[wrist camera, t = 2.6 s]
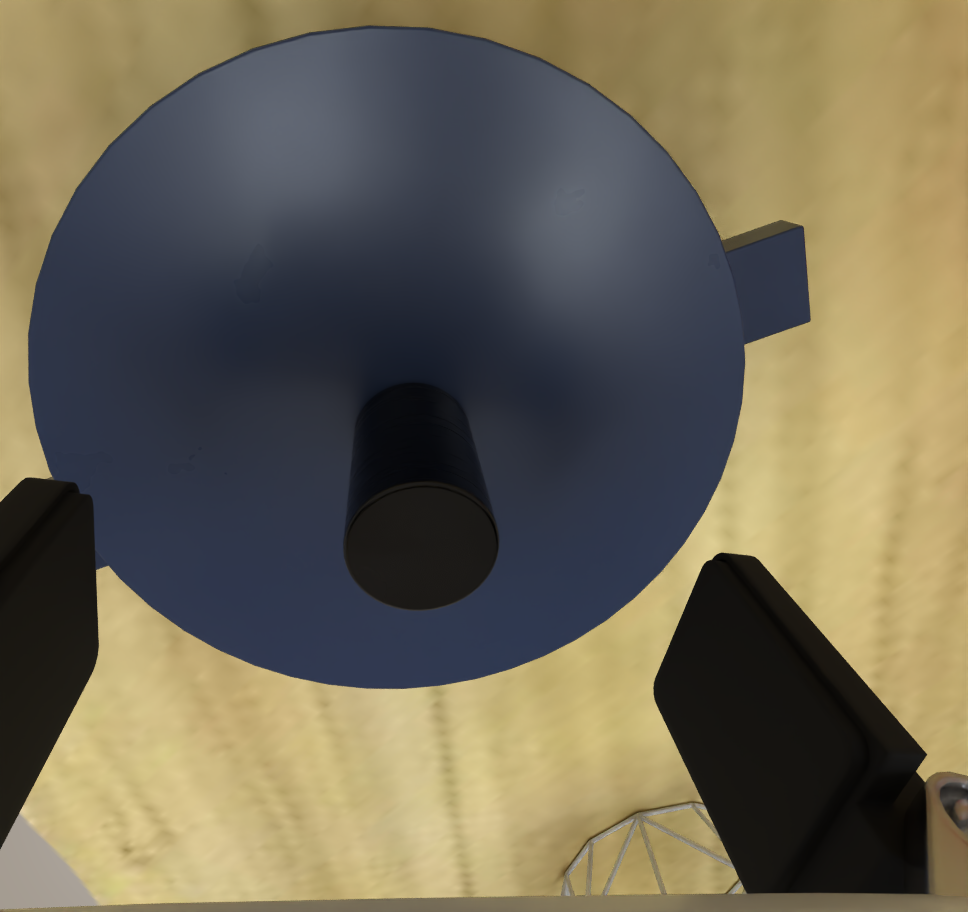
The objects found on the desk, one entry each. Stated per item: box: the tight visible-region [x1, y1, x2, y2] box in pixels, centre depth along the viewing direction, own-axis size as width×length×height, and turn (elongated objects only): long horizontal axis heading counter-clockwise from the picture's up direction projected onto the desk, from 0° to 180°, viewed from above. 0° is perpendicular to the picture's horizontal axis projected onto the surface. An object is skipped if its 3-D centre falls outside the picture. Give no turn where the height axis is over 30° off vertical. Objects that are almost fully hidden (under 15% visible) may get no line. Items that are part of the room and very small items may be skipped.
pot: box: [48, 220, 811, 570], centre depth 19 cm, size 15×20×7 cm
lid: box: [28, 25, 745, 689], centre depth 13 cm, size 16×16×6 cm
